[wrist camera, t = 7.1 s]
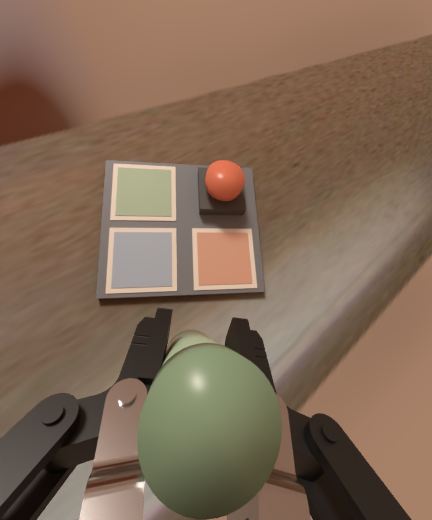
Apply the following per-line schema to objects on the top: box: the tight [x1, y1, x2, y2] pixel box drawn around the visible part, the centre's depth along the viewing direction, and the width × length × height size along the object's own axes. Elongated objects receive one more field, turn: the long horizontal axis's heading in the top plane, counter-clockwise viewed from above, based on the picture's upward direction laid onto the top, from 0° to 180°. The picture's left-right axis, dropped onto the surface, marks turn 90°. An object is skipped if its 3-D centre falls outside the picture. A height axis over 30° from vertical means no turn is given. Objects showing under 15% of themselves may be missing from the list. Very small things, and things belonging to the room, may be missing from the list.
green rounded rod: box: [137, 330, 282, 519], centre depth 10 cm, size 3×3×10 cm
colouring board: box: [96, 160, 265, 299], centre depth 29 cm, size 20×18×2 cm
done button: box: [205, 160, 245, 201], centre depth 28 cm, size 5×5×3 cm
